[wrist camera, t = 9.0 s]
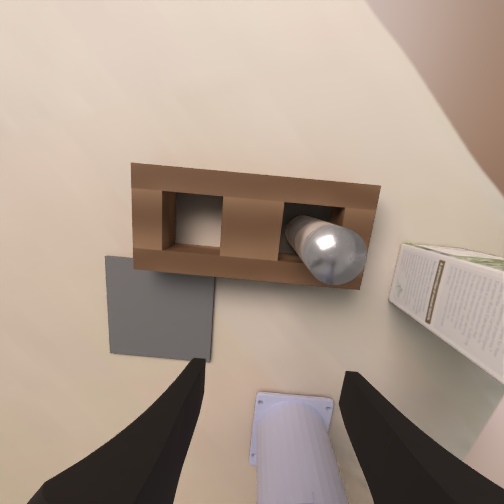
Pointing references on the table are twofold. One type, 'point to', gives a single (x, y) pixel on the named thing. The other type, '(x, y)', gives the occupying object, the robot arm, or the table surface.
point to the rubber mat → (158, 312)
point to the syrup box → (455, 299)
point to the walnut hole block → (239, 222)
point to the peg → (327, 249)
